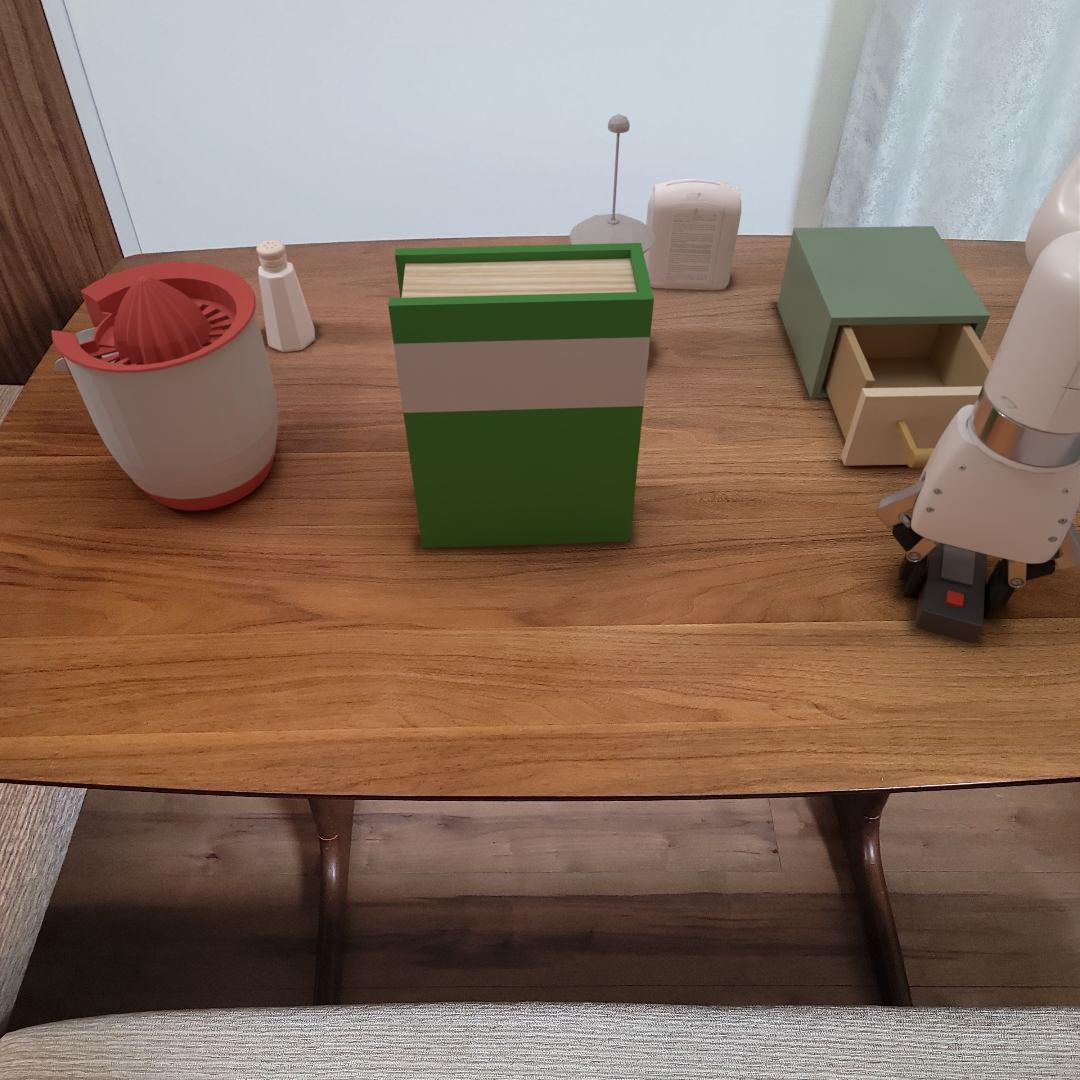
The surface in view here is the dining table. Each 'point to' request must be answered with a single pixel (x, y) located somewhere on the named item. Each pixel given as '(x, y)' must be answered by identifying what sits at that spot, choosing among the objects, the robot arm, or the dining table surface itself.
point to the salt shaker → (283, 300)
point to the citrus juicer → (177, 381)
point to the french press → (613, 213)
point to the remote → (952, 593)
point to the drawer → (901, 387)
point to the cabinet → (868, 288)
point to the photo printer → (692, 233)
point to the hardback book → (523, 389)
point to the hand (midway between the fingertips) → (947, 593)
